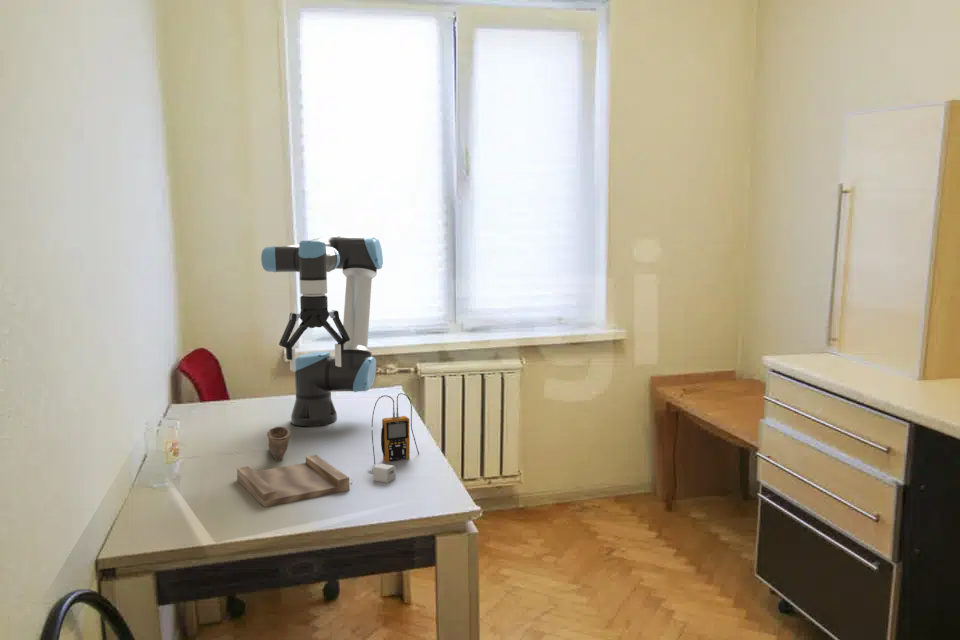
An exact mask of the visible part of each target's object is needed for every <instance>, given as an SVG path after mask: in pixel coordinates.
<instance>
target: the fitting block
mask: <svg viewBox="0 0 960 640" xmlns="http://www.w3.org/2000/svg"><path fill="white" fill-rule="evenodd" d="M236 481H238V482H239V483H240V484H241V486H243V488H245V490H247V491H248V493H249V494H250V495H251V496H253V497H254V498H255V500H257V502H258V503H259V504H260V505H261V506H262V507H264V508H266V507H267V508H268V507H272V506H277V505H283V504H287V503H292V502H297V501H303V500H307V499H313V498H318V497H324V496H327V495H333V494H338V493H344V492H348V491H350V489H351V488H350V477H349V476H348V475H346V474H344V473H343V472H341V471H340V470H339V469H338V468H336V467H334V466H333V465H331V464H330V463H328V462H327V460H324V459H323V458H321V457H320V456H318V455H317V454H312V455H308V456H305V462H302V463H297V464H290V465H285V466H277V467H274V468H267V469H262V470H255V471H254V470H253V469H252V468H251V467H250V466H248V465H247V466H241V467H240V466H239V467H237V468H236Z"/></svg>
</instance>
